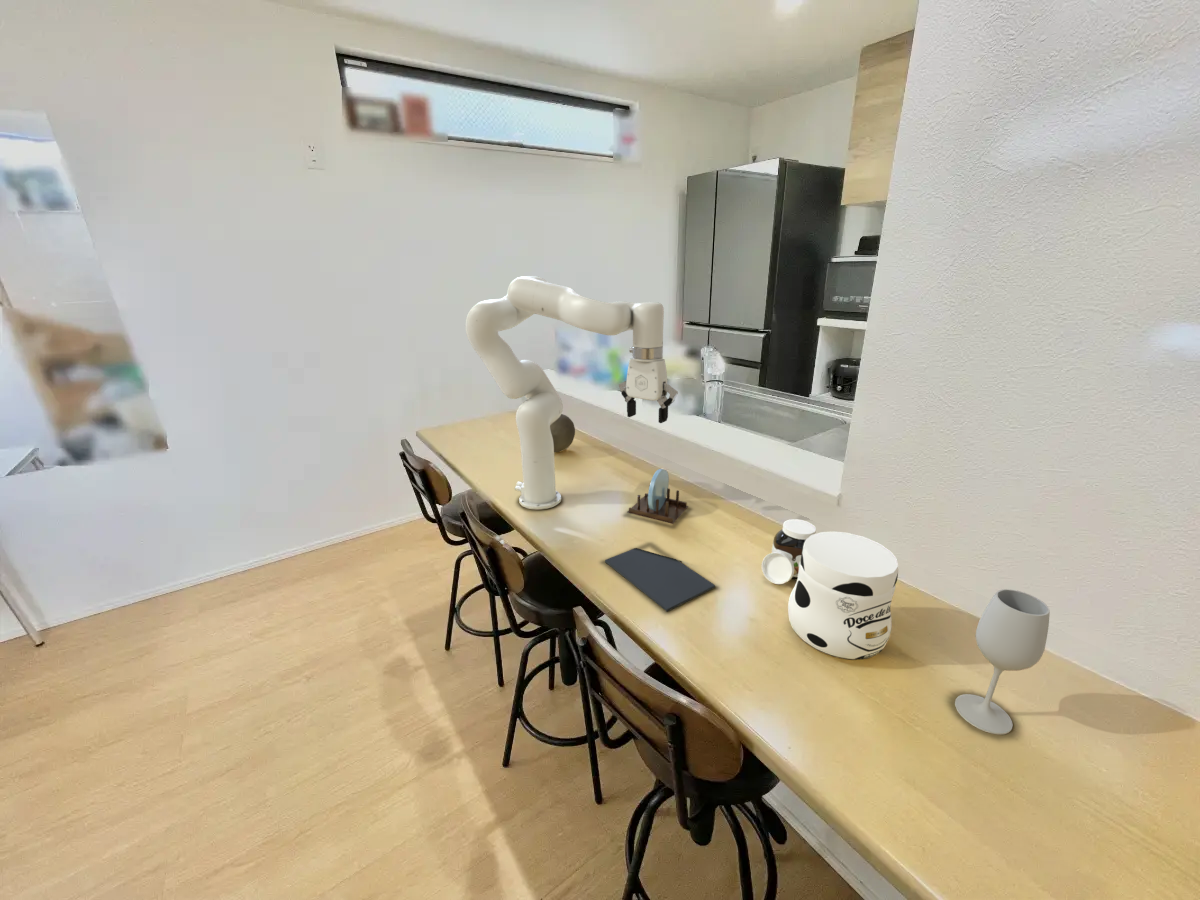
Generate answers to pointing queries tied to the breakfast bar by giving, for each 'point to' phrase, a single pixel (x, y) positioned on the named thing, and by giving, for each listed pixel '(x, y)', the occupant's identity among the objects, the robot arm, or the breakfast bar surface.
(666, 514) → the rack
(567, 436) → the dark grey ball
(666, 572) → the mat
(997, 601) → the wineglass
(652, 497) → the plate
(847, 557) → the milk container
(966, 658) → the breakfast bar surface
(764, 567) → the spread jar
